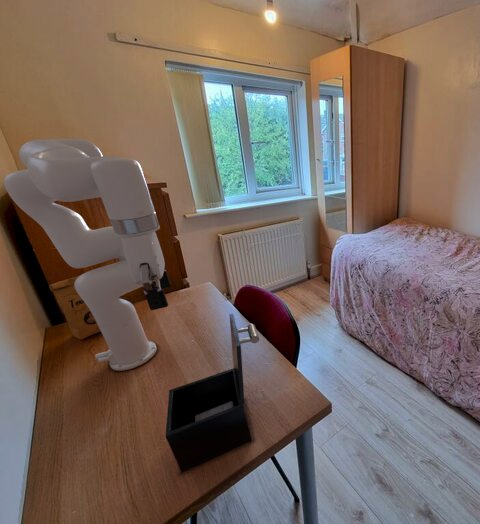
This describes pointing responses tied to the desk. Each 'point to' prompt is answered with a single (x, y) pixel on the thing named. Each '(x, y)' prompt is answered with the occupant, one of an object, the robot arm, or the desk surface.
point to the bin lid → (237, 351)
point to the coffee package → (74, 309)
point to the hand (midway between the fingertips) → (161, 297)
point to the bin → (205, 420)
